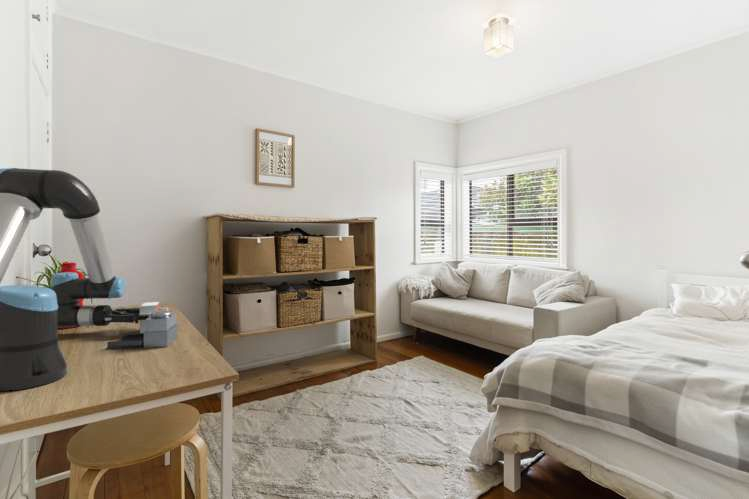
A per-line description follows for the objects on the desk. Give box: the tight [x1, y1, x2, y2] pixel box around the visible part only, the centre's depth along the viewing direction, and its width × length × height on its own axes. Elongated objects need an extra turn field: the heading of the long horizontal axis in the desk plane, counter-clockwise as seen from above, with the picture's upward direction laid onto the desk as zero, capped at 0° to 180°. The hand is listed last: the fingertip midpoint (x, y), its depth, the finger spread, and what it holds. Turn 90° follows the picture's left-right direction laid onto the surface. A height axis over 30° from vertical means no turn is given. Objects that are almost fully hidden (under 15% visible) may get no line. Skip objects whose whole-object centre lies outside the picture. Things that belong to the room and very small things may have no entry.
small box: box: [139, 301, 161, 333], centre depth 143 cm, size 8×6×10 cm
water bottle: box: [57, 261, 85, 330], centre depth 150 cm, size 9×11×25 cm
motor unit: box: [106, 310, 179, 350], centre depth 128 cm, size 11×18×10 cm, turn 101°
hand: (163, 314), depth 144 cm, fingers closed on small box, 9 cm apart
